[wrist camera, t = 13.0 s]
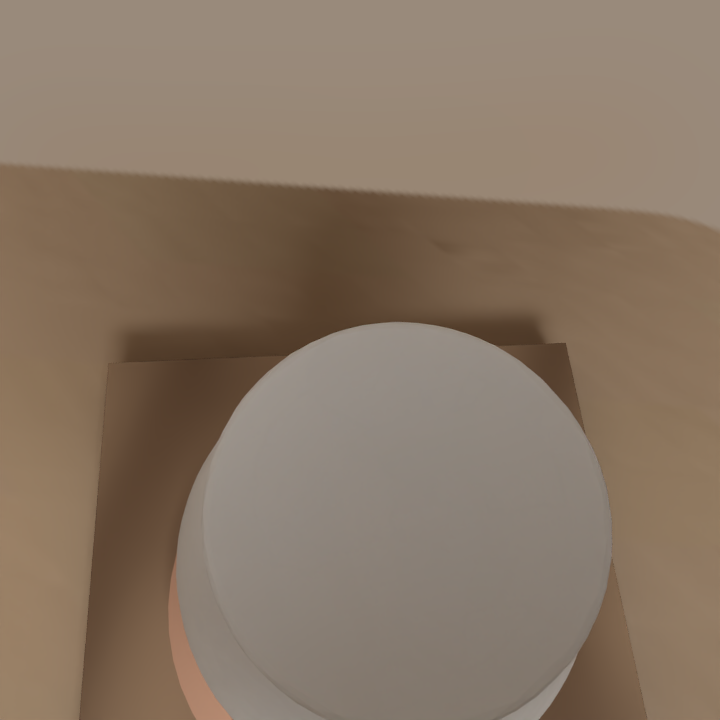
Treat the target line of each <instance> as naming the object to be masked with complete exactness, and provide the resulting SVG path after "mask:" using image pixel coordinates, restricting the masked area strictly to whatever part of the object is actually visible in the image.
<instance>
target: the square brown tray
mask: <svg viewBox="0 0 720 720" xmlns="http://www.w3.org/2000/svg"><path fill="white" fill-rule="evenodd" d="M497 347H498V348H500V349H502V350H503V351H505V352H507V353H508V354H510V355H511V356H513V357H515V358H516V359H518V360H519V361H521V362H522V363H523V364H524V365H526V366H527V367H528V368H529V369H531V370H532V371H533V372H534V373H535V374H537V375H538V376H539V377H540V378H541V379H542V380H543V381H544V382H545V383H546V384H547V385H548V386H549V387H550V388H551V389H552V391H553V392H554V393H555V394H556V395H557V396H558V397H559V398H560V399H561V401H562V402H563V403H564V404H565V405H566V406H567V407H568V409H569V410H570V411H571V413H572V414H573V416H574V417H575V419H576V420H577V422H578V423H579V425H580V426H581V428H582V430H583V432H584V434H585V430H584V426H583V421H582V416H581V412H580V407H579V403H578V398H577V393H576V389H575V384H574V379H573V375H572V370H571V366H570V361H569V356H568V352H567V347H566V343H554V344H531V345H508V346H497ZM287 356H289V355H281V356H258V357H235V358H213V359H190V360H167V361H144V362H122V363H109V364H108V376H107V388H106V400H105V412H104V425H103V437H102V449H101V461H100V473H99V486H98V498H97V510H96V522H95V534H94V547H93V559H92V571H91V583H90V595H89V607H88V620H87V632H86V644H85V656H84V668H83V681H82V693H81V705H80V717H79V720H196V718H195V716H194V715H193V713H192V711H191V709H190V707H189V704H188V702H187V700H186V697H185V695H184V693H183V691H182V688H181V686H180V682H179V679H178V675H177V672H176V668H175V665H174V661H173V656H172V650H171V643H170V637H169V618H168V602H169V592H170V582H171V576H172V571H173V567H174V563H175V558H176V554H177V546H178V537H179V531H180V526H181V521H182V517H183V514H184V510H185V507H186V504H187V500H188V497H189V494H190V492H191V489H192V487H193V484H194V482H195V479H196V477H197V475H198V473H199V471H200V469H201V467H202V465H203V463H204V462H205V460H206V459H207V457H208V455H209V454H210V452H211V451H212V449H213V448H214V446H215V445H216V443H217V442H218V440H219V438H220V436H221V434H222V432H223V430H224V428H225V426H226V425H227V423H228V421H229V420H230V418H231V416H232V414H233V412H234V411H235V409H236V407H237V406H238V405H239V403H240V402H241V400H242V399H243V398H244V396H245V395H246V394H247V393H248V392H249V391H250V389H251V388H252V387H253V386H254V385H255V384H256V383H257V382H258V381H259V380H260V379H261V378H262V377H263V376H264V375H265V374H266V373H267V372H268V371H269V370H271V369H272V368H273V367H275V366H276V365H277V364H278V363H280V362H281V361H282V360H283V359H285V358H286V357H287ZM539 720H647V716H646V712H645V707H644V703H643V698H642V693H641V689H640V684H639V679H638V675H637V670H636V666H635V661H634V656H633V652H632V647H631V643H630V638H629V633H628V629H627V624H626V619H625V615H624V610H623V606H622V601H621V596H620V592H619V587H618V583H617V578H616V573H615V569H614V564H613V559H612V556H611V564H610V570H609V576H608V582H607V589H606V592H605V595H604V598H603V601H602V604H601V608H600V611H599V614H598V616H597V618H596V620H595V622H594V624H593V626H592V628H591V630H590V633H589V635H588V637H587V639H586V641H585V642H584V644H583V645H582V647H581V649H580V650H579V652H578V654H577V656H576V659H575V662H574V664H573V666H572V668H571V670H570V673H569V675H568V677H567V679H566V680H565V682H564V684H563V686H562V687H561V689H560V691H559V692H558V694H557V696H556V697H555V699H554V700H553V702H552V703H551V705H550V706H549V707H548V709H547V710H546V711H545V712H544V714H543V715H542V716H541V717H540V719H539Z"/></svg>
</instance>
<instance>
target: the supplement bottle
mask: <svg viewBox="0 0 720 720" xmlns="http://www.w3.org/2000/svg"><path fill="white" fill-rule="evenodd" d="M611 556H612V519H611V512H610V506H609V500H608V493H607V487H606V484H605V481H604V477H603V474H602V471H601V468H600V465H599V462H598V460H597V457H596V455H595V453H594V450H593V448H592V446H591V444H590V443H589V441H588V439H587V437H586V435H585V434H584V432H583V430H582V428H581V426H580V425H579V423H578V422H577V420H576V419H575V417H574V416H573V414H572V413H571V411H570V410H569V409H568V407H567V406H566V405H565V404H564V403H563V402H562V401H561V399H560V398H559V397H558V396H557V395H556V394H555V393H554V392H553V391H552V389H551V388H550V387H549V386H548V385H547V384H546V383H545V382H544V381H543V380H542V379H541V378H540V377H539V376H538V375H537V374H535V373H534V372H533V371H532V370H531V369H529V368H528V367H527V366H526V365H524V364H523V363H522V362H521V361H519V360H518V359H516V358H515V357H513V356H511V355H510V354H508V353H507V352H505V351H503V350H502V349H500V348H498V347H497V346H495V345H493V344H490V343H488V342H486V341H484V340H482V339H480V338H477V337H475V336H472V335H469V334H467V333H464V332H460V331H457V330H454V329H450V328H446V327H441V326H436V325H429V324H422V323H410V322H388V323H376V324H368V325H361V326H357V327H353V328H349V329H345V330H341V331H338V332H335V333H332V334H330V335H328V336H325V337H323V338H321V339H319V340H316V341H314V342H311V343H309V344H308V345H306V346H304V347H302V348H301V349H299V350H297V351H295V352H293V353H291V354H290V355H289V356H287V357H286V358H285V359H283V360H282V361H281V362H280V363H278V364H277V365H276V366H275V367H273V368H272V369H271V370H269V371H268V372H267V373H266V374H265V375H264V376H263V377H262V378H261V379H260V380H259V381H258V382H257V383H256V384H255V385H254V386H253V387H252V388H251V389H250V391H249V392H248V393H247V394H246V395H245V396H244V398H243V399H242V400H241V402H240V403H239V405H238V406H237V407H236V409H235V411H234V412H233V414H232V416H231V418H230V420H229V421H228V423H227V425H226V426H225V428H224V430H223V432H222V434H221V436H220V438H219V440H218V442H217V443H216V445H215V446H214V448H213V449H212V451H211V452H210V454H209V455H208V457H207V459H206V460H205V462H204V463H203V465H202V467H201V469H200V471H199V473H198V475H197V477H196V479H195V482H194V484H193V487H192V489H191V492H190V494H189V497H188V500H187V504H186V507H185V510H184V514H183V517H182V521H181V526H180V531H179V537H178V546H177V563H176V582H177V593H178V599H179V605H180V611H181V616H182V621H183V626H184V630H185V633H186V636H187V640H188V643H189V646H190V649H191V651H192V654H193V656H194V658H195V661H196V663H197V665H198V667H199V670H200V672H201V674H202V676H203V677H204V679H205V681H206V683H207V685H208V687H209V688H210V690H211V691H212V693H213V695H214V696H215V698H216V699H217V701H218V702H219V703H220V704H221V705H222V707H223V708H224V709H225V710H226V712H227V713H228V714H229V715H230V716H231V718H232V719H233V720H539V719H540V717H541V716H542V715H543V714H544V712H545V711H546V710H547V709H548V707H549V706H550V705H551V703H552V702H553V700H554V699H555V697H556V696H557V694H558V692H559V691H560V689H561V687H562V686H563V684H564V682H565V680H566V679H567V677H568V675H569V673H570V670H571V668H572V666H573V664H574V662H575V659H576V656H577V654H578V652H579V650H580V649H581V647H582V645H583V644H584V642H585V641H586V639H587V637H588V635H589V633H590V630H591V628H592V626H593V624H594V622H595V620H596V618H597V616H598V614H599V611H600V608H601V604H602V601H603V598H604V595H605V592H606V589H607V582H608V576H609V570H610V564H611Z"/></svg>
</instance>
